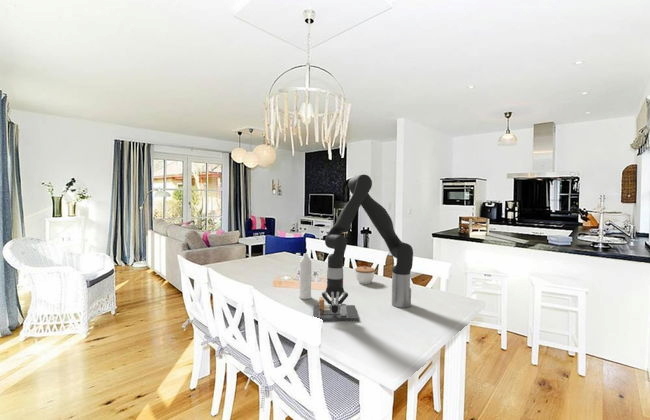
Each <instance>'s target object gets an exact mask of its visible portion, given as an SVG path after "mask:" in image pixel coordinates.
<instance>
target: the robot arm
mask: <svg viewBox="0 0 650 420" xmlns="http://www.w3.org/2000/svg"><path fill="white" fill-rule="evenodd" d="M347 186H348V189H349V191H350V193H351V194H352V195H351V197H350V199H349V201H347V203H346V204H345V205H344V207H343V208H342V209H341V211H340V212H339V215H338V216H337V220H336V221H335V224H334V225H333V226H332V227H331V229H330V230H329V231H328V232H327V234H326V236H325V240H324V244H325V246H326V247H327V248H329V249H331V250H334V251H333V252H332V253H330V254H329V255H328V256H327V271H326V273H327V274H326V288H325V291H323V292H321V296H322V297H323V298H324V301H325V302H326V303H327V305H332V312H333V313H336V312H338V305H340V304H342V303H345V301H346V299H347V298H348V297H349V293H348V292H347V291H345V290H344V262H343V261H344V255H345V253H346V249H347V244H348V242H347V238H346V237H345V236H344V235H342V234H344V233H347V232H348V231H349V230H350V228H351V226H352V224H353V221H354V219H355V216H356V214H357V212H358V211H359V209H360V207H362V208H363V210H364V212H365V213H366V215H367V216H368V218H369V221H371V223H372V225H373V226H374V227H375V229H376V230H377V232H378V234H379V235H380V236H381V237H382V239H383V240H384V243H385V244H386V247H387V248H388V250H389V253H390V254H391V256H392V257H393V258H395V259H396V264H395V265H394V266H392V272H391V273H392V274H391V275H392V276H391V281H392V283H391V305H392V306H393V307H396V308H400V309H401V308H402V309H403V308H408V307H409V308H410V307H412V287H411V272H412V268H413V262H414V261H413V260H414V249H413V247H412V245H411V244H409V243H407V242H403V241H402V240H401V239H400V238H399V237H398V235H397V234H396V231H395V229H394V223H393V220H392V218H391V216H390V214H389V213H388V212H387V210H386V208H385V207H384V206H383V205H381V204H380V203H379V202H377V201H376V200H375V199H374V198H373V197H372V196H371V195H370V193H369V192H370V190H371V189H372V187H373V180H372V179H371V176H369V175H368V174H364V173H363V174H360V175H355V176H352V177H350V179H349V180H348V184H347ZM328 296H329V297H328ZM330 298H331V300H330Z"/></svg>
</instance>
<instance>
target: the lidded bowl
mask: <svg viewBox="0 0 650 420" xmlns="http://www.w3.org/2000/svg"><path fill="white" fill-rule="evenodd" d="M354 270H355V277H356V280H357V281H358V283H360V284H361V285H368V284H371V283H372V281H373V280H374V278H375V268H374V267H371V266H366V265H363V266H356V267H355V269H354Z"/></svg>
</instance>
